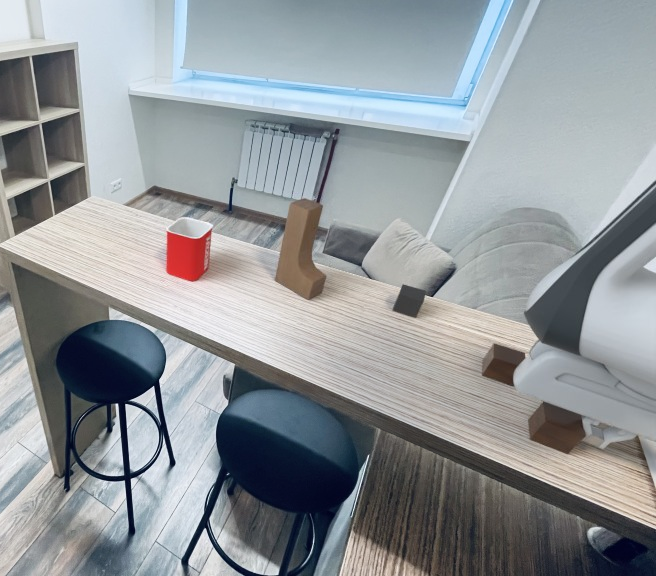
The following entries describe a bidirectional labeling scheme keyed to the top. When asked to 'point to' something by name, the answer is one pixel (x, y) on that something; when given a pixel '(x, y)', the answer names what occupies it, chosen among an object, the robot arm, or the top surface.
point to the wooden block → (300, 250)
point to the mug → (188, 248)
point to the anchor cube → (409, 300)
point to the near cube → (556, 427)
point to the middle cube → (501, 363)
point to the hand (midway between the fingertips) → (588, 440)
